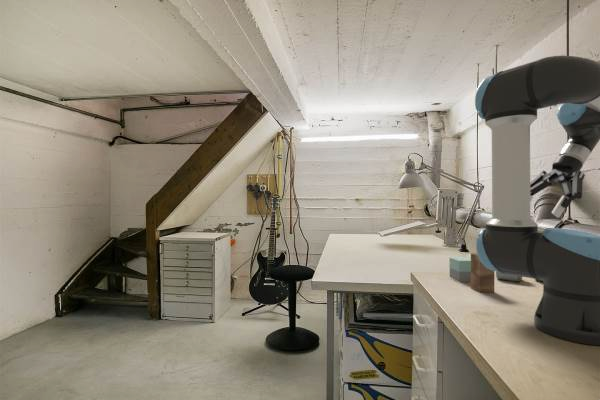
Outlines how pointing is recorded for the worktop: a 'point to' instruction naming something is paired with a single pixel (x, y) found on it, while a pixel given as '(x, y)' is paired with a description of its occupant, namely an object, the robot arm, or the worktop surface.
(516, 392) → the worktop surface
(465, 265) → the tower mid
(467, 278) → the tower base
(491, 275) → the walnut post
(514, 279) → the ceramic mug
